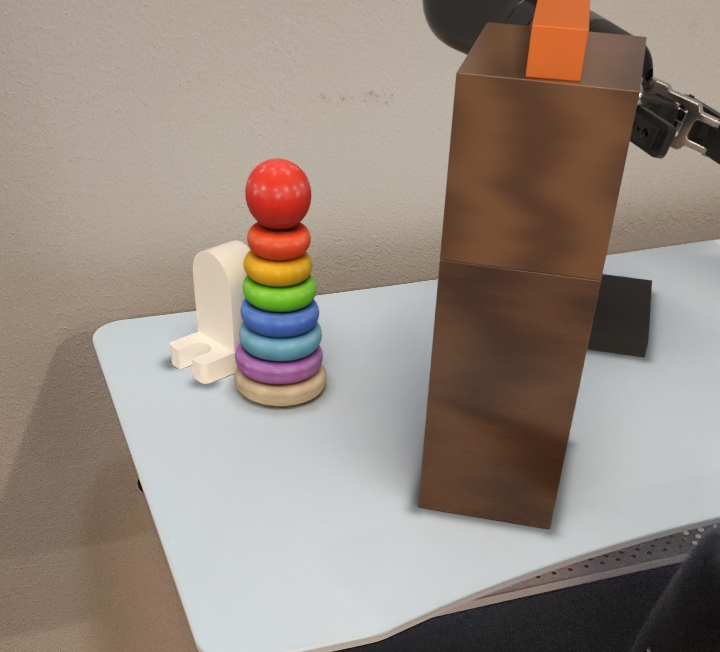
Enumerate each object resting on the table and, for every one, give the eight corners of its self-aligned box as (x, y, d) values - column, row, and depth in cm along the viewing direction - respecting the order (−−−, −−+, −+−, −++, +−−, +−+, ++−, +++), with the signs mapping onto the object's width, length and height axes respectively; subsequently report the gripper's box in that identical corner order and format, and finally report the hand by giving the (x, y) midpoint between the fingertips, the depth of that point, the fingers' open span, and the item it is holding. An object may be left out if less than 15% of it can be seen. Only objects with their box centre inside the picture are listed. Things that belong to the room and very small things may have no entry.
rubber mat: (648, 294, 103) (652, 280, 102) (644, 357, 93) (648, 342, 92) (552, 281, 105) (554, 267, 104) (538, 342, 95) (540, 327, 94)
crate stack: (564, 443, 82) (646, 36, 62) (550, 529, 74) (640, 91, 53) (445, 425, 84) (487, 21, 63) (417, 507, 75) (456, 72, 55)
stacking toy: (332, 408, 85) (335, 180, 72) (238, 413, 84) (224, 183, 71) (319, 362, 91) (320, 143, 78) (231, 367, 90) (217, 145, 77)
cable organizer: (290, 349, 92) (288, 242, 85) (204, 385, 87) (195, 274, 80) (254, 329, 95) (249, 223, 88) (168, 362, 90) (156, 253, 83)
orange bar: (585, 3, 68) (592, -41, 66) (580, 81, 54) (588, 29, 52) (540, 0, 68) (546, -44, 66) (525, 77, 55) (532, 24, 53)
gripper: (534, -2, 75) (666, 80, 66) (665, 36, 82) (800, 114, 73) (496, 103, 80) (613, 193, 71) (623, 130, 87) (744, 214, 78)
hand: (708, 153), depth 72 cm, fingers open, 8 cm apart
